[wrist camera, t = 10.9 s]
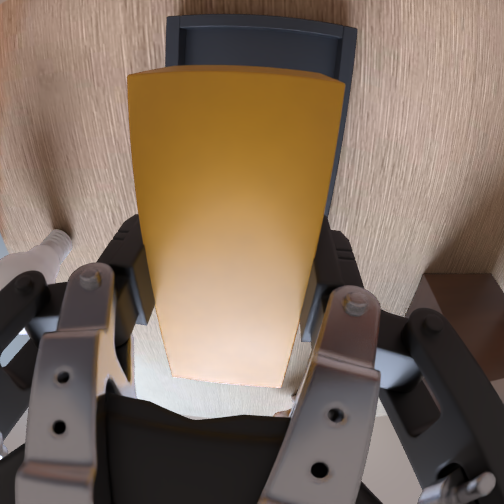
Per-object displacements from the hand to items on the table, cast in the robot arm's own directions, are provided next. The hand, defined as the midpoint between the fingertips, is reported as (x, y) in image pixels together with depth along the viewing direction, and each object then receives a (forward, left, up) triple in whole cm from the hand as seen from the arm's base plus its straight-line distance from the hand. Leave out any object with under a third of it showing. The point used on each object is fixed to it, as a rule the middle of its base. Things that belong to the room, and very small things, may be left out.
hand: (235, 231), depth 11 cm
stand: (-7, +24, -11) cm, 27 cm away
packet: (0, 0, -1) cm, 1 cm away
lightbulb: (+19, -4, -11) cm, 22 cm away
